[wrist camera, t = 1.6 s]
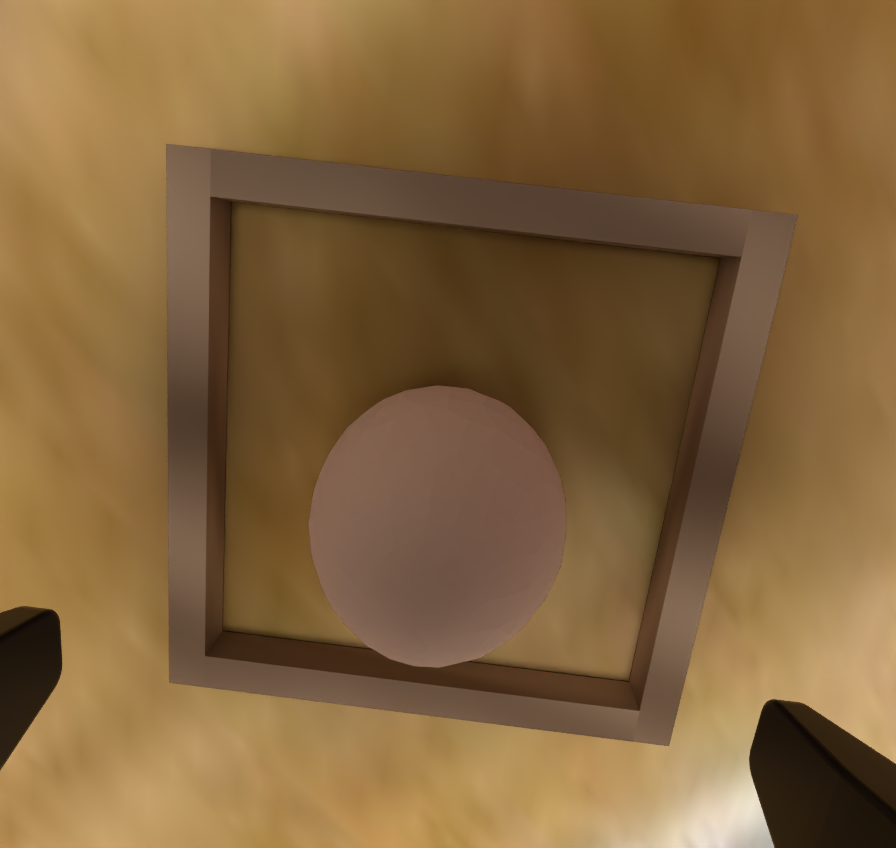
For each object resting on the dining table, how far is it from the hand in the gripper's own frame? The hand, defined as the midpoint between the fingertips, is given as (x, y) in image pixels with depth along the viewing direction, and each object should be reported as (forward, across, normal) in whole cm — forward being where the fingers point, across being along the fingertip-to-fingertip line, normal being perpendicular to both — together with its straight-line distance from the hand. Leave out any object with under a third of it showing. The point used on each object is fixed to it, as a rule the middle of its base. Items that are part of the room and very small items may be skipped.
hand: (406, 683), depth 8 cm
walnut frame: (+9, 0, 0) cm, 9 cm away
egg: (+9, 0, 0) cm, 9 cm away
